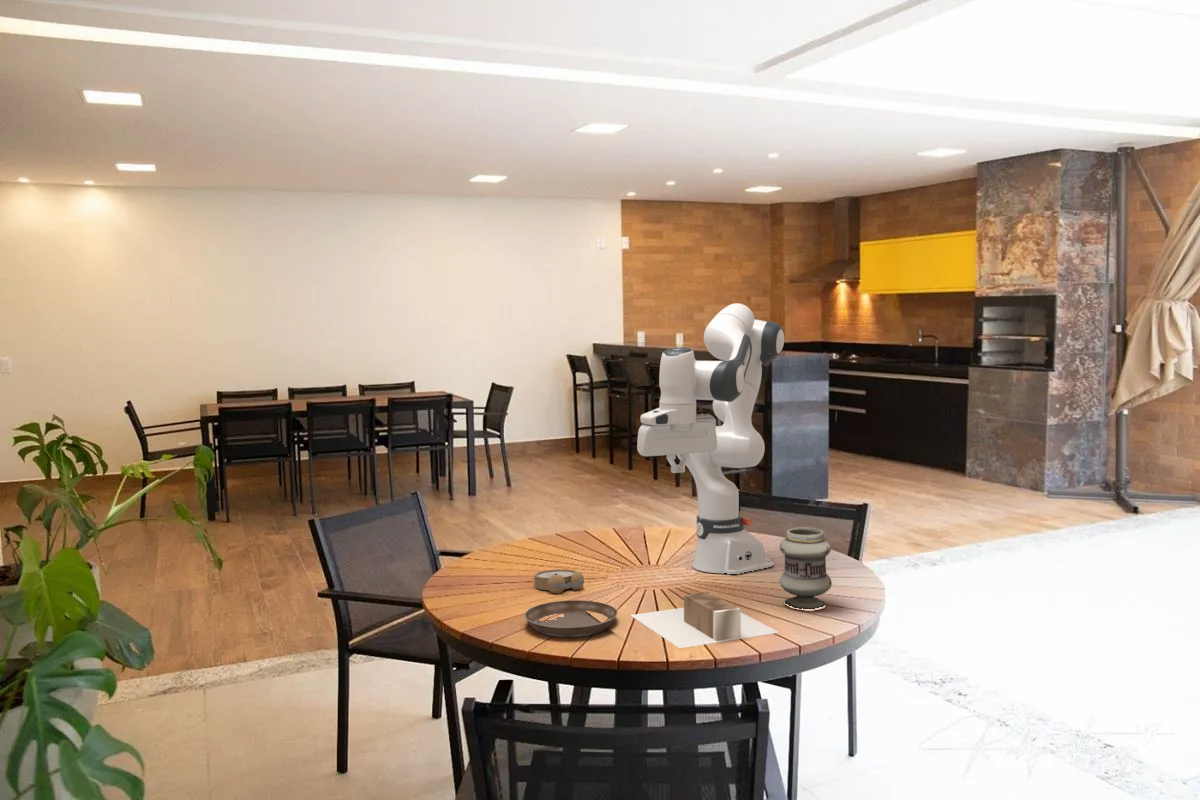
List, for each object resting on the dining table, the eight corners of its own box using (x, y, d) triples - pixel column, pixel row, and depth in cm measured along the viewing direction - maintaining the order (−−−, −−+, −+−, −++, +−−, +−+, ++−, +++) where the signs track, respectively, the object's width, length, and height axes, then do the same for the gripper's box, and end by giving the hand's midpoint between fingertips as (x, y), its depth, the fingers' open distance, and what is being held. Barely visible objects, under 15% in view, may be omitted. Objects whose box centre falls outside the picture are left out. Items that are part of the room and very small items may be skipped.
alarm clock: (563, 567, 245) (592, 569, 233) (565, 586, 245) (594, 589, 232) (526, 573, 240) (553, 576, 227) (527, 592, 239) (555, 596, 226)
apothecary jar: (769, 601, 222) (769, 528, 221) (810, 595, 227) (811, 523, 226) (799, 615, 211) (799, 538, 210) (842, 609, 216) (842, 533, 215)
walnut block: (707, 591, 207) (740, 608, 194) (707, 617, 208) (740, 636, 195) (683, 594, 205) (715, 612, 192) (684, 621, 205) (715, 640, 193)
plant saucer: (512, 619, 211) (512, 605, 211) (595, 608, 219) (595, 594, 219) (543, 648, 192) (543, 632, 192) (633, 634, 201) (633, 619, 200)
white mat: (722, 605, 220) (721, 602, 220) (779, 636, 198) (779, 632, 198) (630, 618, 210) (630, 615, 210) (679, 652, 188) (679, 648, 188)
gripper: (709, 412, 229) (709, 467, 230) (634, 416, 221) (634, 473, 222) (722, 414, 223) (722, 471, 224) (645, 418, 215) (645, 477, 216)
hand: (677, 472), depth 223 cm, fingers closed
